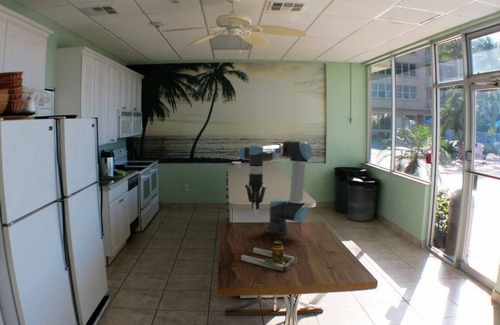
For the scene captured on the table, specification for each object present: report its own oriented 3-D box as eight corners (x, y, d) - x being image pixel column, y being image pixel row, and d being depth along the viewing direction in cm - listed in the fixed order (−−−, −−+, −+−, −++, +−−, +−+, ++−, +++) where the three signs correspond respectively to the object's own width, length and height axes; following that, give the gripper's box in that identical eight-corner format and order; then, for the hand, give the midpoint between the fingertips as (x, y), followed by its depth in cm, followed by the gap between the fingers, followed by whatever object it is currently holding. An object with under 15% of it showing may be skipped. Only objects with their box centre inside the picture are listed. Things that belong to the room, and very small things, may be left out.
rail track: (254, 251, 189) (255, 246, 189) (297, 261, 176) (297, 256, 175) (241, 260, 176) (241, 254, 176) (285, 272, 163) (285, 265, 162)
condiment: (280, 267, 168) (281, 245, 167) (266, 263, 173) (266, 242, 171) (285, 262, 175) (286, 241, 174) (271, 259, 179) (272, 238, 178)
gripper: (242, 173, 177) (242, 214, 180) (263, 175, 171) (262, 217, 173) (249, 171, 184) (248, 211, 186) (269, 173, 177) (268, 214, 180)
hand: (255, 214), depth 180 cm, fingers closed
